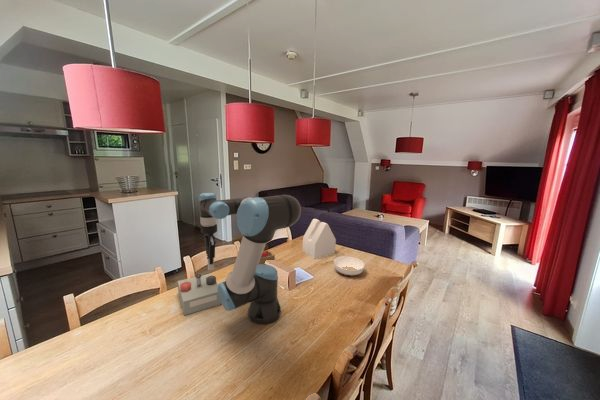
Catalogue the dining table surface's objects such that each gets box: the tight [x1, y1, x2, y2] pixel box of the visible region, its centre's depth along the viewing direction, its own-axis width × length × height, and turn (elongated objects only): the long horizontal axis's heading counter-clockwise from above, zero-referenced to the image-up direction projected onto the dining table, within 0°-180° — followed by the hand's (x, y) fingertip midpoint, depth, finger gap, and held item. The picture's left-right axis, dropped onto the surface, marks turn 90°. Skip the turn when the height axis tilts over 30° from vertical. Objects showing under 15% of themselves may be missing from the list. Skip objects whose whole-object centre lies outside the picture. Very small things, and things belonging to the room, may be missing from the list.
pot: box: [195, 273, 202, 287], centre depth 121 cm, size 3×3×6 cm
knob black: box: [206, 275, 217, 285], centre depth 125 cm, size 5×5×9 cm
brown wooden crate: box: [258, 249, 276, 265], centre depth 164 cm, size 10×17×5 cm, turn 123°
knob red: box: [180, 282, 191, 292], centre depth 118 cm, size 5×5×9 cm
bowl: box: [333, 255, 366, 277], centre depth 156 cm, size 20×20×6 cm
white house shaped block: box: [302, 218, 337, 260], centre depth 181 cm, size 19×15×25 cm
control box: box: [177, 272, 222, 316], centre depth 122 cm, size 20×17×7 cm
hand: (211, 269), depth 123 cm, fingers closed
